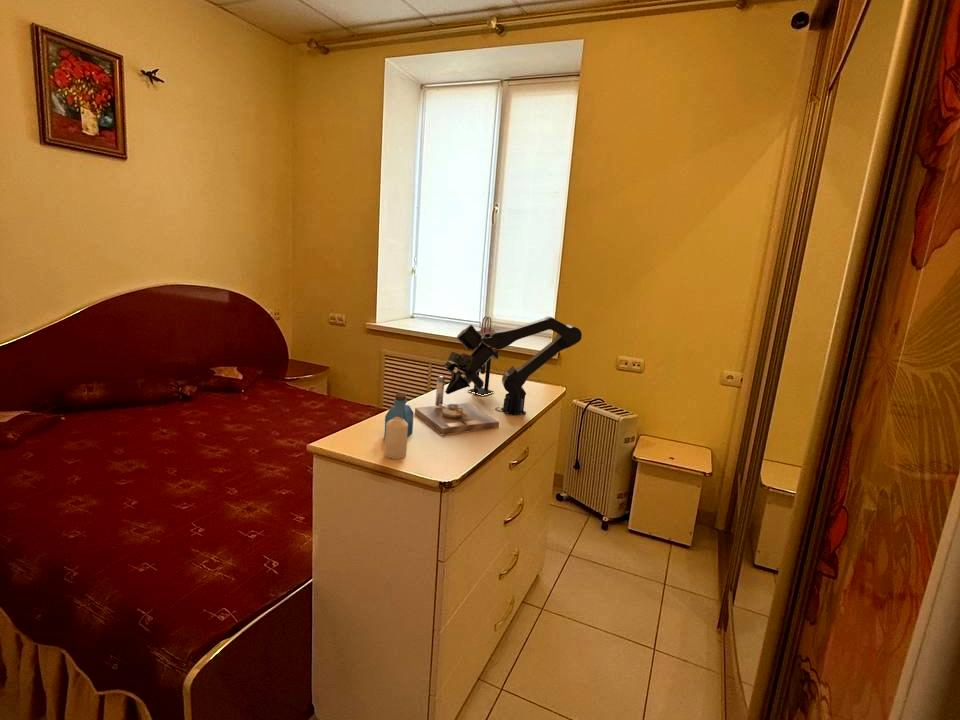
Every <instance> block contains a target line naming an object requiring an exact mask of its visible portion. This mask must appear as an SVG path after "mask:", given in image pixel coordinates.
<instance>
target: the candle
mask: <svg viewBox="0 0 960 720" xmlns="http://www.w3.org/2000/svg"><path fill="white" fill-rule="evenodd" d="M407 433H408V423H407V422H406V421H405V420H404V419H401V418H400V417H395V418H393V419H391V420H390V421H388V422H387V423H386V437H385V443H384V456H385V457H386V458H388V459H391V458H392V459H393V460H400V459H403V458H405V457H406V456H407V447H408V438H407ZM392 459H391V460H392Z"/></svg>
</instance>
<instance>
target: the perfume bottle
mask: <svg viewBox="0 0 960 720" xmlns="http://www.w3.org/2000/svg"><path fill="white" fill-rule="evenodd" d="M394 396H395V397H394V399H393V401H394V404H393V405H392V406H391V407H390V408H389V410H388V411H387V413H386V414H385V416H384V419H385V420H384V435H383V437H384V438H386V423H387V422H388V421H390V420H391V419H393V418H395V417H400V418H401V419H404V420H405V421H406V422H407V423H408V433H407V439H408V438H409V437H410V436H411V435H412V434H413V428H414V414H415V412H414V411H413V410H412V408H411V406H410V405H409V404H407V394H405V393H395V395H394Z"/></svg>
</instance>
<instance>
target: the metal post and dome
mask: <svg viewBox="0 0 960 720" xmlns="http://www.w3.org/2000/svg"><path fill="white" fill-rule="evenodd" d="M444 390H445V377H444V376H443V375H439V376H438V377H437V378H436V391H435V403H434V404H435V405H434V406H439V407H441V408H442V409H443V412H442V415H443V416H444V417H447V418H461V417H462V416H464V417H467V415H466V414H464V413H463V409H462V408H461V407H458V405H456V404H457V403H449V404H445V403H444V392H445V391H444ZM447 405H448V406H447Z"/></svg>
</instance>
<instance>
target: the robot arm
mask: <svg viewBox="0 0 960 720" xmlns="http://www.w3.org/2000/svg"><path fill="white" fill-rule="evenodd" d="M493 330H494V331H492V332H491V333H490V334H482V335H480V334H479V333H478V332H477V331H478V330H477V329H476V328H475V327H474V325H472V324H470V325H468V326H467V327H465V328H464V329H462V330H461V332H459V334H458V335H457V336H456V339H457V340H458V342H460V343H461V344H462V345H463V346H464V347H465V349H466V350H470V351H471V350H472V352H471V354H470V355H469V354H466V353H464V352H463V353H462V354H461V353H458V352H455V351H453V350H452V351H451V352H450V354H449V356H448V357H447V358H448V359H447V360H448V361H446V362H445V364H444V365H443V366H444V367H445V368H446V369H447V371H448V372H449V373H450V376H451V377H450V381H449V382H448V385H447V387H446V389H445V391H444V392H445V394H446V395H449V394H452V393H455V392H457V391H460V390H463V389H465V388H466V389H467V388H470V387H471V385H470V384H471V383H473V385H474V384H475V388H477V389H479V390H480V389H481V388H484V386H485V381H483V379H482V378H481V377H480V375H479V376H478V375H477V374H476V373H477V372H478V371H479V370H480V371H479V372H481V371H482V370H483V369H484V368H483V366H484V364H487V361H488V360H489V359H490V358H491V359H494V360H498V359H499V351H498V350H502V349H505V348H506V347H509V346H510V345H512V344H513V343H515V342H516V341H518V340H521V339H523V338H527V337H531V336H534V335H536V334H539V333H542V332H546V331H548V330H551V331H553V332H555V334H556V335H555V336H554V338H553V340H552V341H551V342H549V343H548V344H547V345H546V346H544V347H543V348H542V349H540V351H538V352H537V353H535V354H534V355H533V356H532V357H531V358H530V359H528V360H527V361H526V362H524V363H523V364H522V365H520V366H518V367H515V365H512V366H511V367H510V368H509V369H508V370H506V371H504V374H503V375H502V377H501V384H502V385H503V389H504V390H505V391H506V392H507V393H505V397H504V398H503V407H501V410H502V412H505V413H506V414H509V415H510V416H515V415H525V414H527V411H525V410H524V409H525V401H526V400H525V398H526V395H527V392H526V390H525V389H524V387H523V386H524V385H525V383H526V382H527V380H528V378H529V377H530V376H531V375H532V374H534V373H535V372H536V371H537V370H539V369H540V368H541V367H542V366H544V365H545V364H546V363H548V361H550V360H551V359H552V358H554V357H555V356H557V354H559V353H560V352H561V351H564V350H567V349H568V348H571V347H572V346H574V345H577V344H578V343H579V342H581V340H582V336H583V334H582V331H581V330H580V329H579V328H578V327H577V326H575V325H573V324H564V323H563V322H561V321H559V320H558V319H557V320H556V319H555V318H554V317H552V316H548V315H547V316H545V317H544V318H541V319H538V320H535V321H532V322H528V323H526V324H523V325H519V326H516V327H511V328H500V329H493ZM481 340H482V341H483V342H484V343H485V344H487V345H488V346H486V345H485V344H484V343H483V342H482V341H481ZM479 344H480V345H479ZM478 345H479V346H478ZM489 345H491V346H492V347H493V348H491V347H490V346H489ZM477 346H478V347H477ZM494 349H495V350H494Z"/></svg>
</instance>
